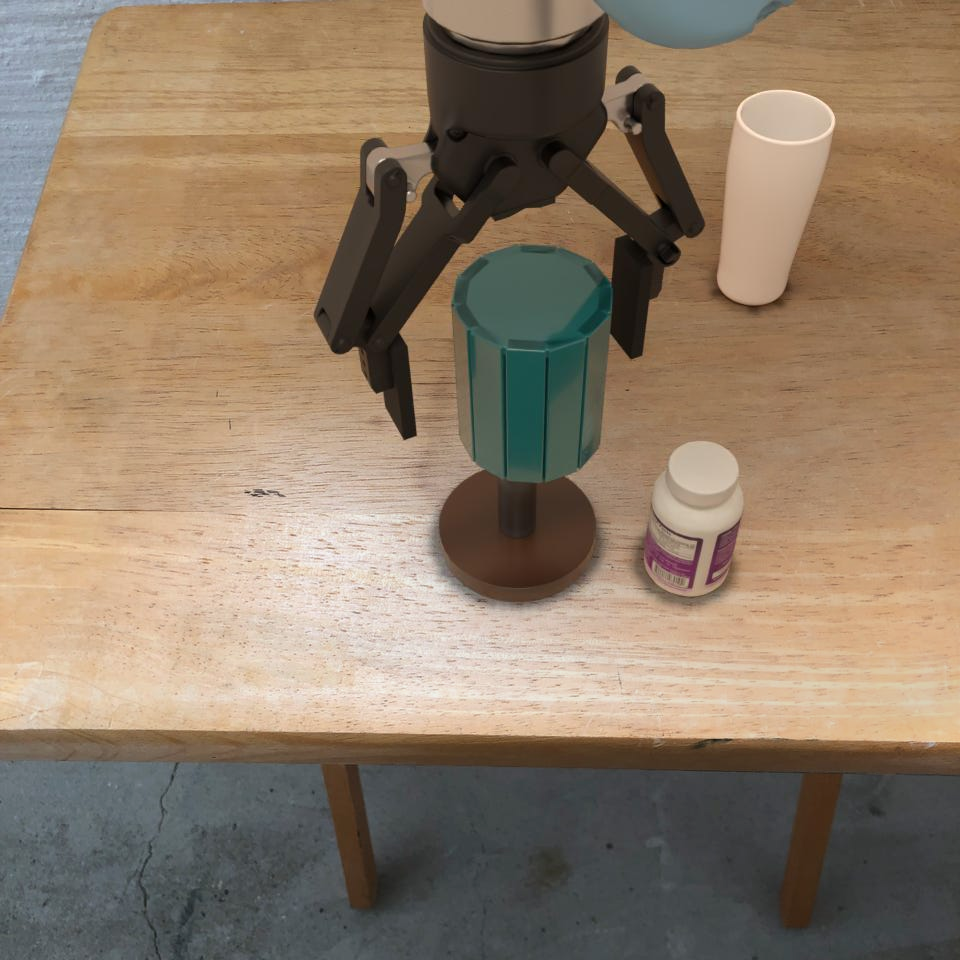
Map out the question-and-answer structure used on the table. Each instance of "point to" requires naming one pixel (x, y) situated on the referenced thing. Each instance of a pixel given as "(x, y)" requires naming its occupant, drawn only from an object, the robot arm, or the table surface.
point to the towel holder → (517, 536)
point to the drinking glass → (770, 190)
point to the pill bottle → (694, 519)
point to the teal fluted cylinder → (531, 360)
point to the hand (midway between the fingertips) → (515, 381)
